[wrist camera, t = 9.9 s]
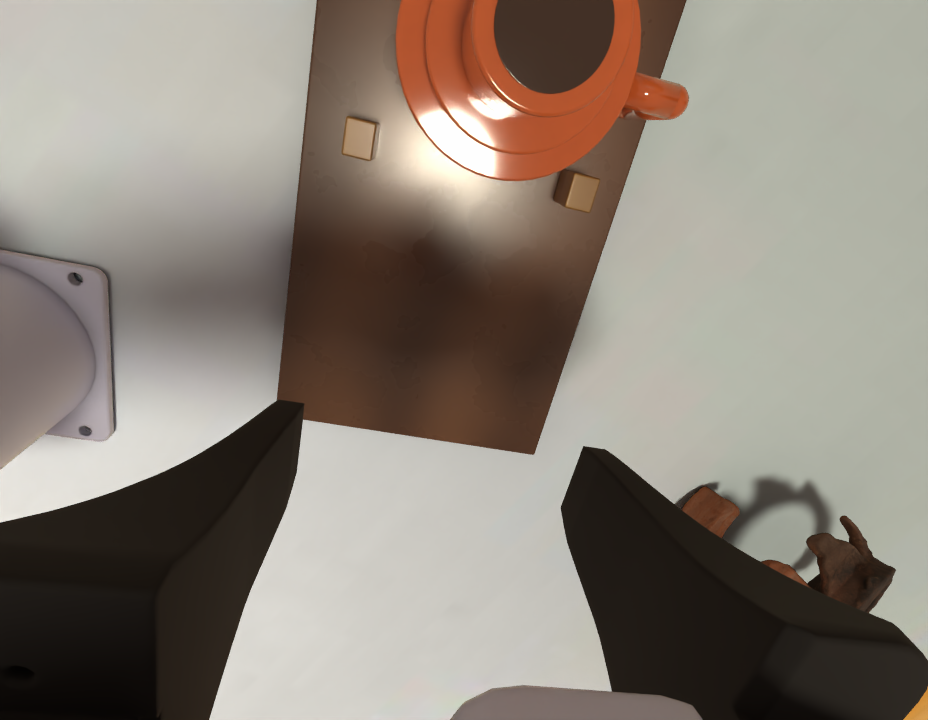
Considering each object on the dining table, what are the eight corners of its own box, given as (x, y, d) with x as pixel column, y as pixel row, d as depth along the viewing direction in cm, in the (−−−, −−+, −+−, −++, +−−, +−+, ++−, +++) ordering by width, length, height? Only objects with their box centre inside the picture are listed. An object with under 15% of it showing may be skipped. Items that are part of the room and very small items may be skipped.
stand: (280, 404, 24) (263, 438, 21) (338, -155, 16) (323, -207, 14) (530, 443, 26) (542, 478, 23) (688, -38, 18) (733, -65, 15)
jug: (597, 194, 20) (733, 247, 11) (389, 143, 19) (362, 160, 10) (654, 15, 18) (880, -92, 9) (421, -57, 16) (422, -263, 8)
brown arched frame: (729, 433, 27) (915, 544, 21) (759, 477, 34) (906, 571, 28) (587, 615, 27) (732, 773, 21) (645, 623, 34) (767, 745, 28)
